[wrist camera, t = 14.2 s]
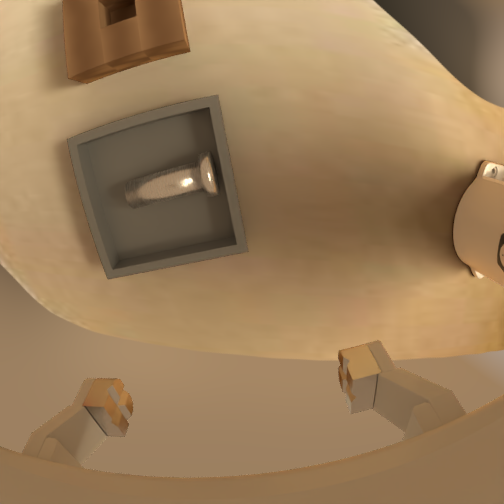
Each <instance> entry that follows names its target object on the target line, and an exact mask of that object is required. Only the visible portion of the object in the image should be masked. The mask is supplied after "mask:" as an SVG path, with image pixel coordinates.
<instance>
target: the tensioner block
mask: <svg viewBox="0 0 504 504" xmlns="http://www.w3.org/2000/svg"><path fill="white" fill-rule="evenodd" d="M63 26H64V41H65V53H66V63H67V72H68V79H72V80H76V81H79V82H83V83H86V84H88V83H90V82H93V81H96V80H98V79H101V78H103V77H106V76H109V75H112V74H115V73H117V72H120V71H123V70H126V69H129V68H132V67H136V66H139V65H142V64H145V63H149V62H152V61H156V60H159V59H163V58H167V57H171V56H175V55H179V54H183V53H187V52H190V47H189V42H188V36H187V31H186V25H185V19H184V14H183V8H182V2H181V0H63Z"/></svg>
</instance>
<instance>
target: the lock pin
mask: <svg viewBox="0 0 504 504" xmlns="http://www.w3.org/2000/svg"><path fill="white" fill-rule="evenodd" d="M203 191H205V193H206V195H207V196H208V197H213V196H217V195H220V183H219V177H218V172H217V168H216V165H215V161H214V158H213V156H212V154H211V152H210V151H208V152H204V153H200V154H199V155H198V162H194V163H190V164H186V165H182V166H179V167H175V168H171V169H168V170H164V171H161V172H157V173H154V174H150V175H147V176H144V177H140V178H137V179H134V180H131V181H127V182H126V184H125V197H126V200H127V202H128V204H129V206H130V207H131V208H132V209H137V208H141V207H144V206H148V205H152V204H155V203H159V202H163V201H167V200H171V199H174V198H178V197H182V196H186V195H190V194H194V193H199V192H203Z"/></svg>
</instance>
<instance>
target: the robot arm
mask: <svg viewBox="0 0 504 504" xmlns="http://www.w3.org/2000/svg"><path fill="white" fill-rule="evenodd" d="M453 240H454V246H455V250H456V253H457V255H458V257H459V258H460V259H461V260H462V261H463V262H464V263H465V264H467V265H468V266H470V268H471V270H472V273H473V275H474V276H475V277H477V278H479V279H480V278H482V277H484V276H485V277H487V278H489V279H491V280H492V281H494V282H496V283H498V284H499V285H501V286H503V287H504V165H500V164H497V163H493V162H489V161H484V162H483V163H482V165H481V167H480V169H479V172H478V174H477V177H476V179H475V180H474V181H473V183H472V184H471V185H470V186H469V187H468V189H467V190H466V191H465V193H464V195H463V197H462V198H461V201H460V203H459V205H458V208H457V211H456V215H455V220H454V227H453ZM338 359H339V362H340V366H339V368H338V375H339V382H340V386H341V389H342V392H344V393H346V403H347V406H348V408H349V411H350V414H353V413H357V412H361V411H365V410H369V409H373V410H375V411H376V412H377V413H379V414H380V415H382V416H383V417H385V418H386V419H387V420H389V421H390V422H391V423H393V424H394V425H396V426H397V427H398V428H400V429H401V430H403V431H404V432H405V434H404V437H403V440H402V441H401V442H398V443H395V444H393V445H389V446H386V447H383V448H380V449H377V450H373V451H370V452H367V453H363V454H360V455H356V456H352V457H348V458H344V459H340V460H336V461H332V462H327V463H322V464H318V465H313V466H307V467H302V468H296V469H290V470H284V471H277V472H269V473H261V474H251V475H239V476H224V477H192V478H191V477H190V478H189V477H185V478H184V477H155V476H154V477H153V476H140V475H130V474H120V473H111V472H104V471H98V470H91V469H85V468H84V467H83V466H82V464H83V463H84V462H85V461H86V460H87V459H88V458H89V457H90V456H91V455H92V453H93V452H94V451H95V450H96V449H97V448H98V447H99V446H100V445H101V444H102V443H103V441H104V440H105V439H106V438H107V436H117V437H125V436H126V433H127V429H128V426H129V423H128V421H127V419H128V418H130V417H131V416H132V412H133V401H132V398H131V396H130V395H129V393H127V392H126V391H124V390H123V388H124V384H123V383H122V381H121V380H120V379H117V378H113V379H112V378H97V379H94V378H93V379H92V378H87V379H86V380H84V382H83V384H82V386H81V388H80V390H79V392H78V393H77V396H76V397H75V400H74V402H73V404H72V406H67V407H66V408H65V409H63V410H62V411H61V412H59V413H58V414H57V415H55V416H54V417H53V418H51V419H50V420H49V421H47V422H46V423H44V424H43V425H42V426H40V427H39V428H38V429H36V430H35V431H34V432H32V433H31V435H30V437H29V439H28V441H27V443H26V445H25V447H24V449H23V452H22V453H19V452H16V451H12V450H9V449H6V448H4V447H1V446H0V504H504V394H503V395H502V396H500V397H498V398H496V399H494V400H493V401H491V402H489V403H487V404H485V405H484V406H482V407H480V408H478V409H476V410H474V411H472V412H470V413H468V414H467V413H466V412H465V410H464V409H463V407H462V406H461V404H460V403H459V401H458V399H457V398H456V396H455V395H454V393H453V392H452V391H451V390H449V389H447V388H444V387H442V386H440V385H437V384H435V383H433V382H431V381H429V380H427V379H424V378H422V377H420V376H418V375H416V374H414V373H411V372H409V371H407V370H405V369H403V368H396V367H395V365H394V363H393V361H392V360H391V358H390V356H389V355H388V353H387V351H386V350H385V348H384V346H383V345H382V343H381V341H379V340H377V341H373V342H370V343H366V344H363V345H359V346H355V347H351V348H347V349H343V350H339V352H338Z"/></svg>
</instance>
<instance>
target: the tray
mask: <svg viewBox="0 0 504 504" xmlns="http://www.w3.org/2000/svg"><path fill="white" fill-rule="evenodd" d="M67 142H68V147H69V152H70V156H71V161H72V165H73V169H74V173H75V177H76V181H77V185H78V189H79V193H80V196H81V200H82V203H83V207H84V210H85V214H86V217H87V220H88V224H89V227H90V230H91V233H92V236H93V239H94V242H95V245H96V248H97V251H98V254H99V257H100V260H101V263H102V265H103V268H104V271H105V273H106V276H107V279H113V278H118V277H123V276H128V275H133V274H138V273H143V272H148V271H153V270H158V269H163V268H168V267H173V266H178V265H183V264H189V263H194V262H199V261H204V260H209V259H214V258H219V257H224V256H229V255H234V254H239V253H244V252H248V247H247V242H246V237H245V232H244V226H243V221H242V216H241V211H240V206H239V201H238V196H237V191H236V185H235V180H234V175H233V170H232V165H231V160H230V154H229V149H228V144H227V139H226V134H225V129H224V123H223V118H222V113H221V108H220V103H219V97H218V95H214V96H209V97H204V98H200V99H195V100H191V101H186V102H182V103H178V104H174V105H170V106H166V107H162V108H159V109H155V110H151V111H148V112H144V113H141V114H138V115H134V116H131V117H128V118H125V119H121V120H118V121H115V122H112V123H109V124H106V125H103V126H101V127H98V128H95V129H92V130H90V131H87V132H84V133H82V134H79V135H76V136H74V137H71V138H69V139H67ZM208 151H210V152H211V154H212V156H213V158H214V161H215V165H216V168H217V172H218V177H219V183H220V195H217V196H213V197H208V196H207V195H206V193H205V191H203V192H199V193H194V194H190V195H186V196H182V197H178V198H174V199H171V200H167V201H163V202H159V203H155V204H152V205H148V206H144V207H141V208H137V209H132V208H131V207H130V206H129V204H128V202H127V200H126V197H125V184H126V182H127V181H131V180H134V179H137V178H140V177H144V176H147V175H150V174H154V173H157V172H161V171H164V170H168V169H171V168H175V167H179V166H182V165H186V164H190V163H194V162H198V155H199V154H200V153H204V152H208Z"/></svg>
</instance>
